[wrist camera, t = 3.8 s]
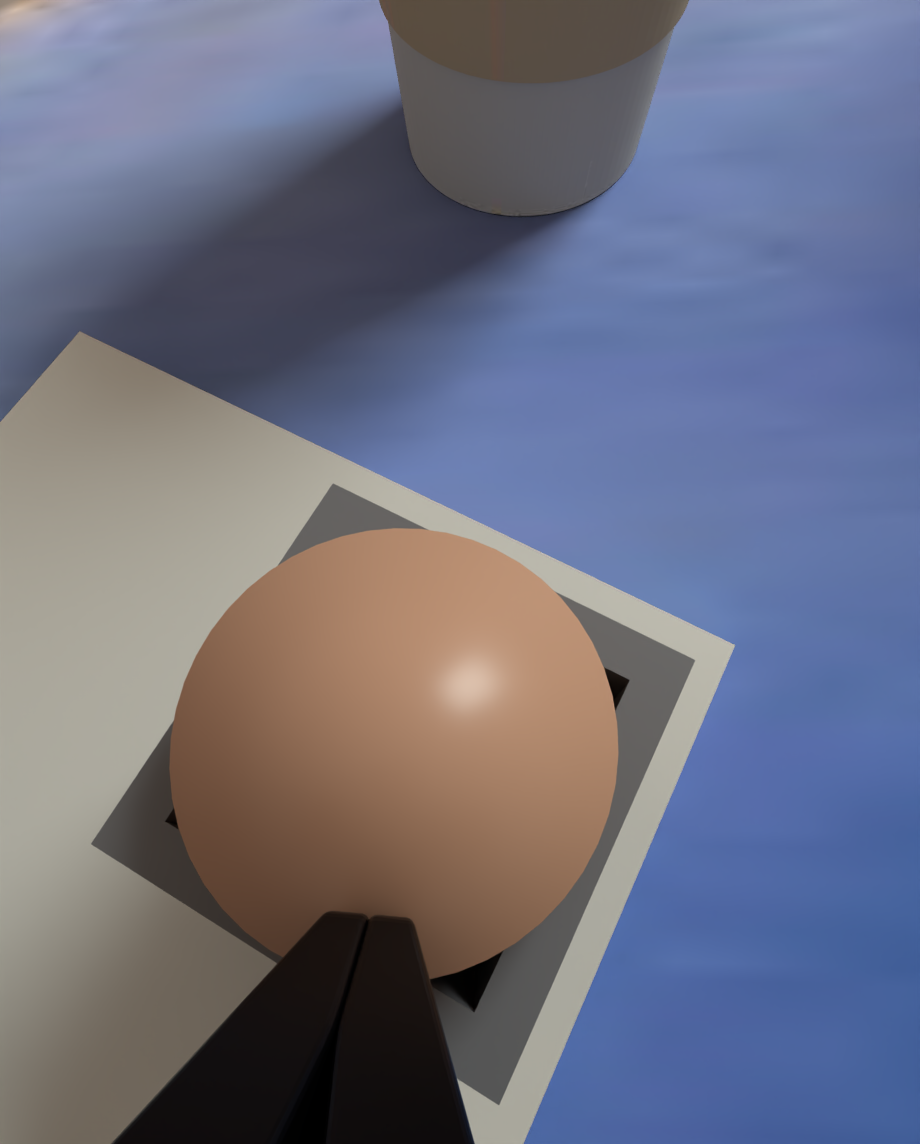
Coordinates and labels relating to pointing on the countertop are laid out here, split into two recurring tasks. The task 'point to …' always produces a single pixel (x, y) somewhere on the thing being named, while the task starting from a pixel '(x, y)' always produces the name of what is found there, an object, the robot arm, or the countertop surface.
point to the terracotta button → (395, 746)
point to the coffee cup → (527, 94)
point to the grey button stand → (143, 736)
